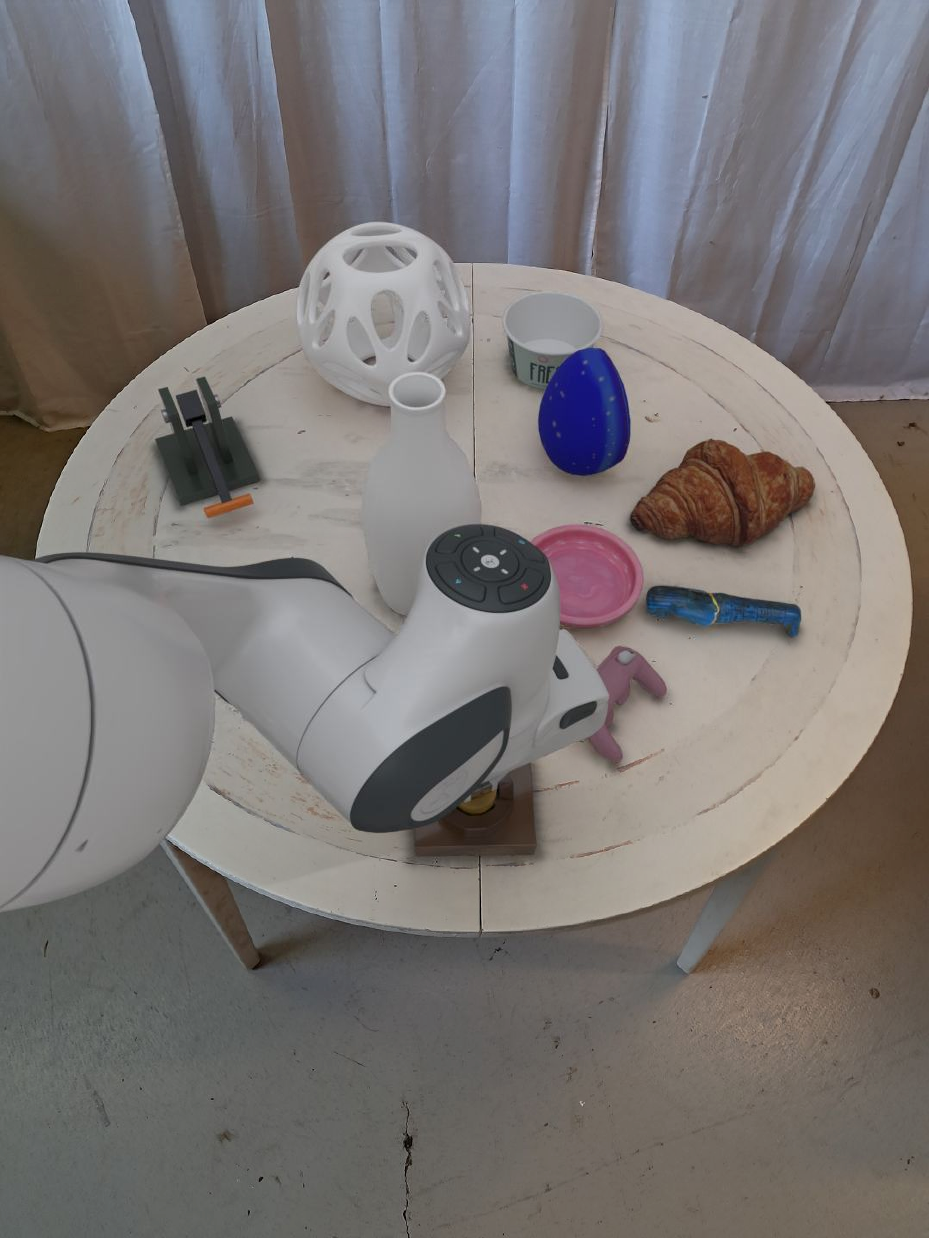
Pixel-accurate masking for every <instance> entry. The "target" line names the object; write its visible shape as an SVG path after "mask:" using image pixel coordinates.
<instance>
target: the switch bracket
mask: <svg viewBox="0 0 929 1238" xmlns="http://www.w3.org/2000/svg"><path fill="white" fill-rule="evenodd" d="M195 381H196V384H197V387H198V391H199V395H200V399H201V403H202V406H203V408H204V411H205V414H206V420H207V421H208V423H203V425H204V427H205V430H206V432H207V435H208V438H209V440H210V443H211V445H212V448H213V451H214V453H215V456H216V459H217V461H218V464H219V466H220V469H221V472H222V474H223V477H224V479H225V482H226V485H227V487H228V490H229V491H232V490H235V489H238V488H241V487H244V486H248V485H250V484H254V483H258V482H260V481H261V477H260V473H259V471H258V468H257V466H256V464H255V462H254V460H253V458H252V456H251V453H250V451H249V449H248V447H247V445H246V443H245V441H244V439H243V436H242V435H241V432H240V430H239V428H238V426H237V424H236V422H235V420H234V417H233V416H227V417H225V418H222V415H221V411H220V409H221V408H222V404H221V400H220V398H219V395H218V394H214V393H213V390H212V388H211V387H210V384H209V382H208V380H207V377H206V376H201V377H198V378H195ZM157 391H158V394H159V397H160V400H161V402H162V405H163V408H164V409H161V410H160V412H161V415H162V418H163V421H164V423H165V424H168V423H169V425H170V428H171V431H172V433H170V434H167V435H163V436H160V437H157V438H154V441H155V443H156V446H157V449H158V451H159V455H160V457H161V459H162V461H163V464H164V468H165V470H166V472H167V474H168V477H169V479H170V482H171V485H172V487H173V489H174V492H175V495H176V497H177V500H178V503H179V505H180V506H184V505H188V504H190V503H193V502H197V501H200V500H203V499H206V498H210V497H212V496H213V497H214V496H215V495H218V492H217V490H216V487H215V485H214V482H213V479H212V477H211V474H210V471H209V469H208V466H207V464H206V461H205V458H204V456H203V453H202V451H201V448H200V445H199V443H198V440H197V438H196V435H195V432H194V430H193V427H191V428H190V427H189V428H187V429H185V428H184V425H183V422H182V419H181V416H180V413H179V410H178V408H177V405H176V403H175V401H174V399H173V396H172V394H171V391H170V389H169V387H168V386H165V387H161V388H158V389H157Z"/></svg>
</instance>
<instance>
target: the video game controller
mask: <svg viewBox="0 0 929 1238" xmlns="http://www.w3.org/2000/svg"><path fill="white" fill-rule="evenodd" d="M596 670H597V672H598V673H599V675H600V677H601V679H602V681H603V683H604V685H605V687H606V689H607V691H608V693H609V699H608V702H607V704H608V710H607V716H606V719H605V722H604V724H603V726H602V727H601V728H600V729H599V730H598V731H597V732H596V733H594V734H593V735H592V736H590V737H588V738H585V740H587V742H588V743H589V745H591V747H592V748H593V749H594V750H595V751H596V752H597V753H598V754H599V755H600V756H601V757H603V758H604V759H606V760H607V761H608V762H611V763H620V762H621V761H622V760H623V758H624V757H623V751H622V748H621V746H620V745H619V744H618V742H617V741H616V739H615V738H614V737H613V735H612V734H611V732H610V730H609V729H608V728H609V727H610V726H611V725H612V722H613V719H614V712H615V711H614V708H613V706H614V705H615V704H617V705H622V706H623V705H624V704H625V703H627V702H628V699H629V698H630V695H631V681H634V682H636V683H637V684H639V685H640V686H641V687H642V688H643V689H644V690H645V691H647V692H649V693H650V694H652V695H653V696H657V697H664V696H666V695H667V690H668V689H667V685H666V682H665V680H664V679H663V678H662V676H661V675H660V674H659V673H658V672H657V671H656V669H654V667H653V666H652V665H651V664H650V663H649V662H648V661H647V659H646V658H645V657H644V656H643V655H642V654H641V653H639V652H638V651H636V650H635V649H633V648H631V647H626V646H623V645H618V646H615V647H614V648H612V650H611V651H610V653H609V655H608V656H606V657H605V658H604V660H602V661H601V663H600V664H599V665H598V666H597V668H596Z"/></svg>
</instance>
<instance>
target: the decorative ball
mask: <svg viewBox="0 0 929 1238" xmlns="http://www.w3.org/2000/svg"><path fill="white" fill-rule="evenodd" d="M387 247H389V248H390V247H391V249H392V250H393V251H394V252H395V253H396V254H397V255H398V257H399V258H400V259H401V260H402V261H401V260H400V259H398V258H397V257H396V256H395V255H394V254H392V253H391V252H390V251H389V250H388V248H387ZM407 249H409V250H411V251H413V252H414V253H415V254H416V257H414V256H413V255H412V254H410V252H409V251H408V250H407ZM360 250H362V251H361V252H360V254H359V255H358V253H359V251H360ZM357 255H358V256H357ZM356 256H357V257H356ZM355 258H356V259H355ZM434 267H435V268H436V269H437V271H438V273H437V272H436V271H435V268H434ZM327 273H329V275H328V276H327V277H326V275H327ZM325 277H326V278H325ZM442 291H444V294H443V292H442ZM381 293H383V294H384V295H385V297H386V298H387V300H388V302H389V304H390V307H391V310H392V315H393V321H394V323H393V324H394V325H393V326H394V327H393V330H392V332H391V333H390V335H389V336H387V337H385V338H380V337H379V335H378V333H377V329H376V327H375V324H374V319H373V314H372V313H373V312H372V308H373V307H372V306H373V302H374V300H375V298H376V297H377V296H378V295H379V294H381ZM396 296H397V297H398V299H399V301H400V303H401V306H400V304H399V302H398V300H397V297H396ZM318 302H319V303H321V304H322V306H324V307H323V310H322V311H321V310H320V309H319V308H318ZM401 307H402V308H401ZM444 316H446V318H447V322H445V320H444V318H443V317H444ZM332 318H333V320H334V321H333V323H331V319H332ZM353 318H354V320H353V321H351V320H352V319H353ZM295 320H296V329H297V334H298V339H299V342H300V343H299V344H300V347H301V349H302V352H303V354H304V356H305V358H306V360H307V361H308V363H309V364H310V365H311V367H312V368H313V369H314V370H315V371H316V373H317V374H318V375H320V376H321V378H323V379H324V380H325V381H326V382H328V383H329V384H330V385H332V386H333V387H334V388H335V389H338V390H339V391H341V392H342V393H344V394H347V395H348V396H350V397H352V398H355V399H356V400H359V401H360V402H361V401H362V402H365V403H367V404H372V405H375V406H380V407H381V406H382V407H390V408H391V402H390V400H389V396H388V392H389V386H390V384H391V383H392V382H393V380H394V379H396V378H397V377H399V376H400V375H403V374H406V373H410V372H425V373H429V374H432V375H434V376H436V377H437V378H439V379H440V380H441V381H442V380H443V379H444V378H445V377H446V376H447V375H448V374H449V373H450V372H451V371H452V370H453V369H454V368H455V366H456V365H457V364H458V362H459V361H460V359H461V358H462V356H463V355H464V353H465V351H466V349H467V347H468V345H469V343H470V338H471V325H472V324H471V309H470V302H469V298H468V294H467V289H466V286H465V283H464V281H463V278H462V276H461V273H460V272H459V270H458V268H457V266H456V264H455V263H454V261H453V259H452V258H451V257H450V256H449V254H448V253H447V252H446V250H445V249H444V248H442V247H441V245H439V244H438V243H436V241H434V240H433V239H431V238H430V237H428V236H427V235H425V234H423V233H421V232H420V231H417V230H416V229H413V228H410V227H408V226H405V225H402V224H397V223H393V222H388V221H387V222H386V221H371V222H370V221H369V222H364V223H361V224H357V225H355V226H352V227H350V228H348V229H345V230H344V231H342V232H340V233H338V234H337V235H335V236H334V237H333V238H331V239H330V240H329V241H328V242H326V243H325V244H324V245H323V246H322V247H321V248H320V249H319V250H318V251H317V252H316V253H315V255H314V256H313V257H312V259H311V260H310V262H309V264H308V265H307V267H306V269H305V271H304V272H303V275H302V277H301V279H300V282H299V285H298V289H297V294H296V300H295ZM324 331H325V332H326V333H327V334H328V338H327V340H326V341H325V342H324V340H323V338H322V335H323V332H324ZM373 357H375V363H374V364H372V365H371V364H368V363H365V362H364V361H365V360H367V359H370V358H373ZM409 359H410V360H412V361H410V360H409Z"/></svg>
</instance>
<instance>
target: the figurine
mask: <svg viewBox="0 0 929 1238" xmlns="http://www.w3.org/2000/svg"><path fill="white" fill-rule="evenodd" d="M645 610H646V613H647V614H648V615H650V616H654V617H659V618H667V617H670V615H671V616H674V617H676V618H679V619H681V620H683V621H686V622H687V623H691V624H695V625H698V626H701V627H709V626H711V625H712V624H719V625H720V624H721V625H722V624H723V625H726V624H736V623H738V624H739V623H745V622H750V623H751V622H752V623H758V624H766V625H774V626H783V627H784V628H785V629H786V631H787V634H788V636H789V637H790V638H796V637H797V636H799V631H800V625H801V622H802V610H801V607H800V606H798V605H797V604H795V603H788V602H783V601H775V600H767V599H759V598H752V597H746V596H745V597H743V596H738V595H737V596H736V595H732V594H728V593H726V592H707V591H706V590H704V589H703V590H702V589H698V588H693V587H692V588H691V587H684V586H677V585H666V584H665V585H662V584H658V585H654V586H651V587H650V588H648V590H647V591H646V594H645Z"/></svg>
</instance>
